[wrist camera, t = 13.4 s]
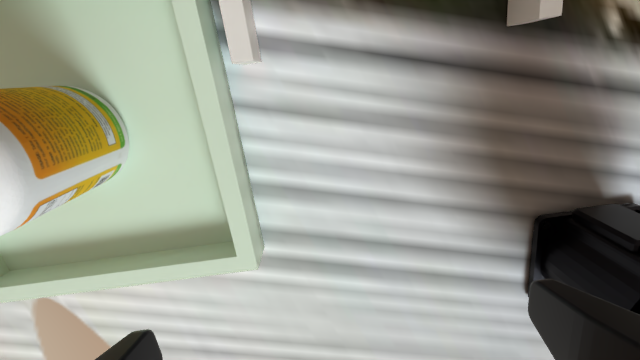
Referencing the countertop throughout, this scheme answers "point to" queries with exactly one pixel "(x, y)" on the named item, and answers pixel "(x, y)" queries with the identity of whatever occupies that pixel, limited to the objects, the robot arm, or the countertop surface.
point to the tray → (134, 148)
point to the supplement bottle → (54, 149)
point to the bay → (523, 7)
